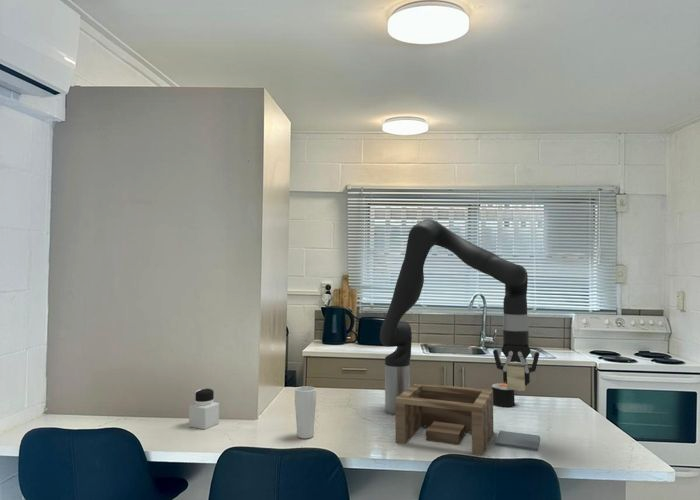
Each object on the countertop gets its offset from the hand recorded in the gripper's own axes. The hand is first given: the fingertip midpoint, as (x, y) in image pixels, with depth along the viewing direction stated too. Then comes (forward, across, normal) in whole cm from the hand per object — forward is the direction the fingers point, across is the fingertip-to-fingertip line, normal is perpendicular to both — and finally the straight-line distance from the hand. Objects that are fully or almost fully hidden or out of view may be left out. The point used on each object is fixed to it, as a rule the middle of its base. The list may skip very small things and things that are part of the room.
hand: (516, 383), depth 152 cm
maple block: (+1, 0, 0) cm, 1 cm away
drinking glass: (+18, +62, +22) cm, 68 cm away
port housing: (+17, +21, +5) cm, 28 cm away
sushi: (+18, +9, -41) cm, 46 cm away
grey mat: (+18, 0, 0) cm, 18 cm away
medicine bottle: (+18, +99, +26) cm, 104 cm away
